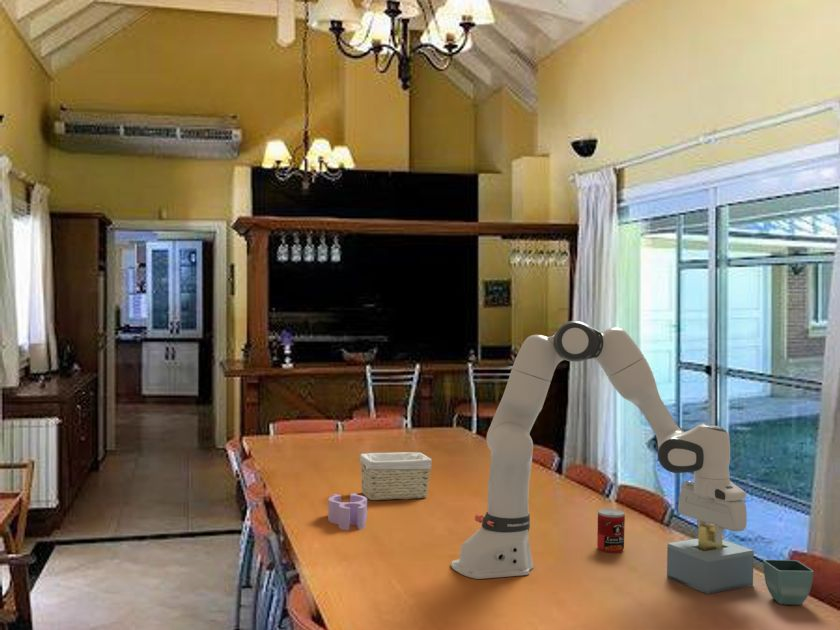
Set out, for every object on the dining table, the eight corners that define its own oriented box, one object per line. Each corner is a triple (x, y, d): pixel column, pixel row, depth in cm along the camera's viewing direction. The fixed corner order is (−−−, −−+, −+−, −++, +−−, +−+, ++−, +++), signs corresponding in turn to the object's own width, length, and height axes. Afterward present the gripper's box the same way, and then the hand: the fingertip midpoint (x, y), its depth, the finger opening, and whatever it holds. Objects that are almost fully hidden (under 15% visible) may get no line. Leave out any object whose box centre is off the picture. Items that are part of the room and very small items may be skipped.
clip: (373, 529, 265) (373, 507, 264) (333, 531, 262) (334, 509, 261) (362, 513, 284) (362, 492, 284) (325, 515, 281) (325, 494, 281)
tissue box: (707, 594, 210) (708, 558, 210) (666, 577, 223) (667, 543, 222) (752, 585, 217) (753, 550, 217) (711, 569, 230) (711, 536, 230)
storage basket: (419, 489, 321) (420, 450, 320) (432, 499, 305) (433, 458, 305) (357, 492, 314) (358, 452, 314) (367, 502, 298) (368, 461, 298)
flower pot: (796, 595, 210) (797, 559, 210) (813, 608, 202) (814, 571, 201) (761, 595, 210) (762, 559, 210) (777, 608, 201) (778, 570, 201)
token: (705, 550, 217) (706, 527, 217) (698, 548, 220) (698, 525, 220) (722, 548, 220) (722, 525, 220) (714, 545, 222) (715, 522, 222)
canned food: (605, 554, 242) (605, 515, 242) (592, 546, 250) (593, 509, 250) (629, 552, 244) (630, 514, 244) (615, 544, 252) (616, 507, 252)
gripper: (673, 480, 227) (672, 531, 228) (733, 496, 209) (732, 552, 209) (690, 478, 230) (689, 528, 231) (751, 494, 212) (750, 549, 212)
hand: (710, 540), depth 220 cm, fingers closed on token, 2 cm apart
